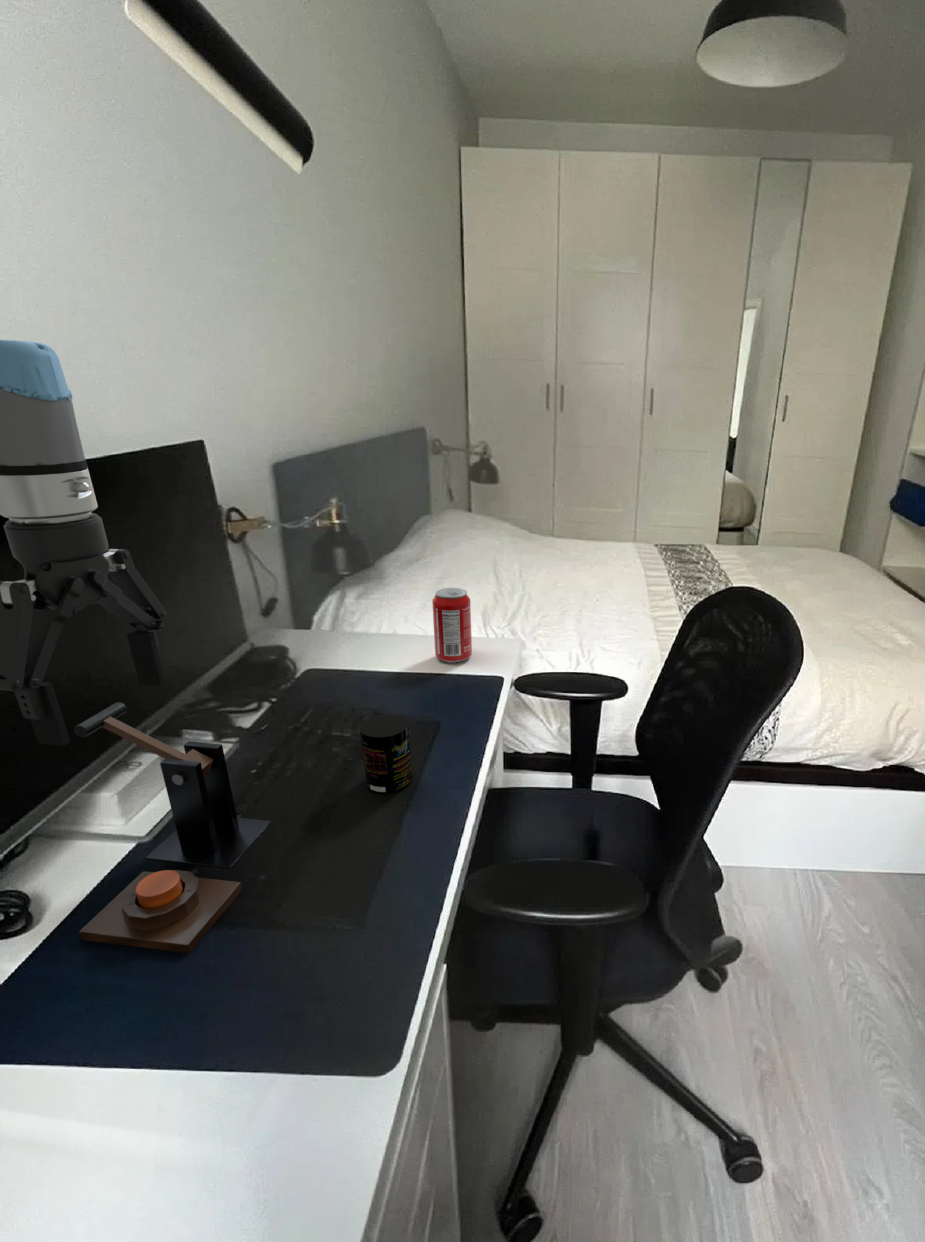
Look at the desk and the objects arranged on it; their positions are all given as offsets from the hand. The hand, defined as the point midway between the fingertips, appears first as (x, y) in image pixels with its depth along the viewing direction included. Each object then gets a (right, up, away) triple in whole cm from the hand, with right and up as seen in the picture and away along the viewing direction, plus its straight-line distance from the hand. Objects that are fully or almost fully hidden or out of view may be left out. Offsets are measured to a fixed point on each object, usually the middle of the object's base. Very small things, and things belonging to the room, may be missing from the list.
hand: (108, 710), depth 70 cm
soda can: (+23, +4, +70) cm, 74 cm away
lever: (-1, -6, +7) cm, 9 cm away
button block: (+6, -23, +1) cm, 24 cm away
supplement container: (+23, -14, +25) cm, 37 cm away
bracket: (+4, -19, +12) cm, 23 cm away
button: (+6, -20, -1) cm, 21 cm away
